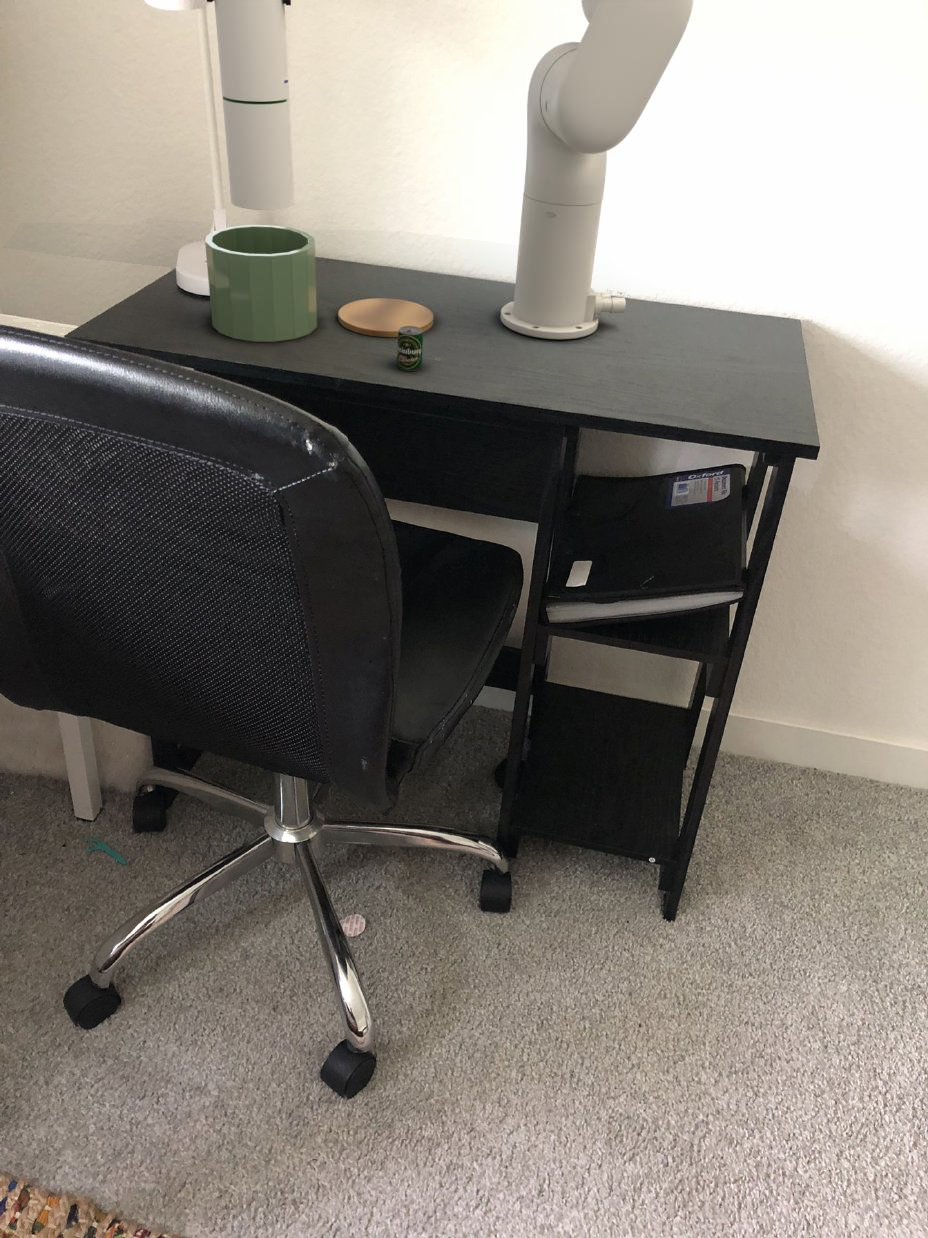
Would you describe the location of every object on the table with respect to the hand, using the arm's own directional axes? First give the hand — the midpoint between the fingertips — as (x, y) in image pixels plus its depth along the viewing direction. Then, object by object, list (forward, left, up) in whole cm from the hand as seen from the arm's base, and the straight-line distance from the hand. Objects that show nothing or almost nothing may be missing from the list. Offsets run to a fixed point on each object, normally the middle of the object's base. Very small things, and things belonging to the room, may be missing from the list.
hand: (249, 0), depth 104 cm
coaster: (-15, -1, -34) cm, 37 cm away
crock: (0, 0, -34) cm, 34 cm away
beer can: (-16, +14, -34) cm, 40 cm away
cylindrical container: (0, 0, -20) cm, 20 cm away
